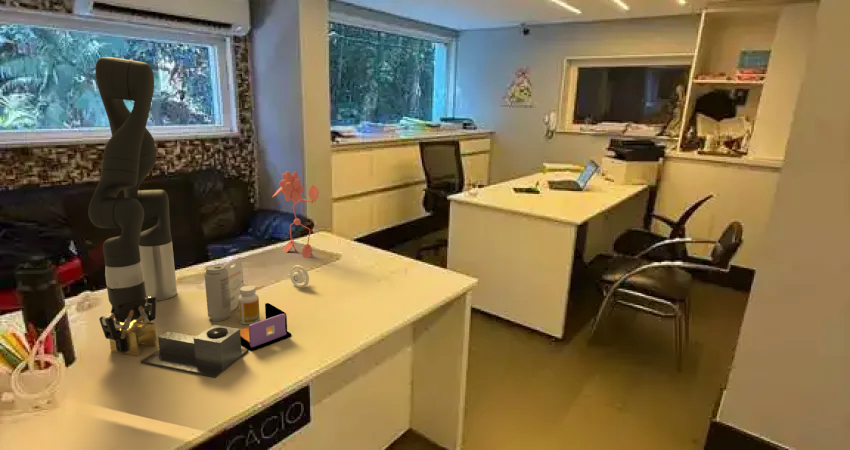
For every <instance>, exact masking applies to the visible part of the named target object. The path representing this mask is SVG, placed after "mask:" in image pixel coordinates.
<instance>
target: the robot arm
mask: <svg viewBox="0 0 850 450" xmlns="http://www.w3.org/2000/svg"><path fill="white" fill-rule="evenodd" d="M94 70H95V71H94V72H95V73H94V74H95V80H96V86H97V90H98V91H99V95H100V99H101V100H102V104H103V107H104V110H105V113H106V115H107V120H108V123H109V128H110V133H111V137H110V139H108V141H107V143H106V145H105V148H104V151H103V155H102V165H101V176H100V179H99V182H97V183H98V184H97V186H96V189H95V190H94V193H93V195H92V197H91V199H90V203H88V204H89V205H88V210H87V212H88V213H87V214H88V219H89V220H90V223H92V225H93V226H95V227H97V228H100V229H121V233H120V235H119V236H115V237H114V236H113V237H109V238H107V239H106V240H105V241H104V242H103V243H102V252H103V258H104V265H105V270H104V271H105V273H104V276H105V284H106V289H107V291H106V292H107V297H108V302H109V303H110V305H111V311H110V313H109V314H106V315H105V316H104V315H103V316H100V317H99V319H98V321H99V323H100V326H101V329H102V332H103V334H104V337H105V339H108V340H109V339H112V340H115V343H116V349H117V351H119V352H122V353H121V354H124V353H125V352H127V351H128V348H127V340H126V338H125V336H126V331H127V329H128V328H129V326H130V323H131V322H132V321H133V320H136V321H138V320H139V321H142V322H151V323H152V321H155V319H156V312H157V311H156V309H157V301H163V300H167V299H171V298H173V297H174V296H176V295H177V294H178V290H177V289H178V288H177V287H178V286H177V279H176V270H175V260H174V259H175V258H174V250H173V239H172V231H171V221H170V220H171V219H170V201H169V195H168V193H167V192H166V190H164V189H143V190H141V189H139V188H140V186H141V184H142V182H144V180H145V179H146V178H147V177H148V175H149V174H150V172H152V170H153V169H154V167H155V165H156V163H157V150H156V143H155V140H154V137H153V135H152V134H151V132H150V131H149V130H148V129H147V124H148V119H149V115H150V111H151V106H152V103H153V97H154V92H155V91H154V90H155V76H154V72H153V69H152V67H151V65H150V64H148V63H147V62H144V61H137V60H131V59H125V58H120V57H119V58H118V57H112V56H102V57H100V58H98V60H97V61H96V63H95V69H94ZM125 101H131V102H133V107H132V110H131V111H130V110H129V109H128V107H127V105H126V104H125ZM121 191H123V195H124V197H118V195H119V193H120V192H121ZM153 221H154V222H155V221H157V223H156V224H155V225H154V226H152V227H151V228H148V229H145V230H143V231H142V228H143V225H144V224H143V223H144V222H153ZM120 322H122V323H124V325H122V324H120ZM120 328H121V332H120V333H119V330H120ZM119 352H118V353H119Z"/></svg>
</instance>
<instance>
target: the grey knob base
mask: <svg viewBox="0 0 850 450" xmlns="http://www.w3.org/2000/svg"><path fill="white" fill-rule="evenodd" d="M240 330H241V328H238V327H237V328H235V327H231V326H226V325H225V326H224V325H218V324H213V325H212V326H210V327H209V328H207V329H206V330H204V331H202V332H201V333H199V334H198V335H190V334H185V333H179V332H173V331H169V330H166V332H163V333H162V334H160V335H158V336H157V344H158V348H159V349H158V350H156V351H154V352H153V353H150V354H149V355H148V356H145V357H144V358H143V359H141V360H140V364H144V365H147V366H148V365H149V366H153V367H158V368H164V369H169V370H173V371H178V372H184V373H189V374H193V375H197V376H198V375H199V376H203V377H209V378H214V379H216V378H217V377H218V376H220V375H221V374H222V373H224V372H225V371H226V370H227V369H228V368H230V367H231V366H232V365H233V364H235V363H236V362H237V361H238V360H240V359H241V358H243V356H245V355H246V354H248V353H249V350H248V349H246V348H242V345H241V337H240Z"/></svg>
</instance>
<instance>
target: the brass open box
mask: <svg viewBox="0 0 850 450" xmlns="http://www.w3.org/2000/svg"><path fill="white" fill-rule="evenodd" d="M120 324H122V325H124V323H122V322H120ZM120 332H121V328H120V330H119V333H120ZM125 338H126V340H127V348H128V351H127V352H125V353H122V352H119V351H117V349H116V343H115V340H112V339H108V340H109V346H110V351H111V352H114V353H119V354H125V355H130V356H135V357H140V356H141V349H140V344H141V345H146V346H151V347H156V346H158V339H157V333H156V324H155V322H152V321H151V322H142V321H139V320H138V321H136V320H133V321H132V322H131V323H130V326H129V328H128V329H127V331H126V336H125Z"/></svg>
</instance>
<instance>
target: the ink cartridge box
mask: <svg viewBox="0 0 850 450" xmlns="http://www.w3.org/2000/svg"><path fill="white" fill-rule="evenodd" d="M233 264H235V265H233ZM224 265H225V268H226V269H227V271H228V277H229V290H230V304H231V312H232V311H234V310H235V309H237V308H239V307H238V297H239V296H240V295H241V294H240V288H241V287H244V286H245V284H244V283H245V282H244V270H243V269H244V268H243V263H242V257H240V256H239V257H236V258H235V259H234V260H233V259H232V260H231V261H230V262H228V263H225V264H224Z"/></svg>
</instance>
